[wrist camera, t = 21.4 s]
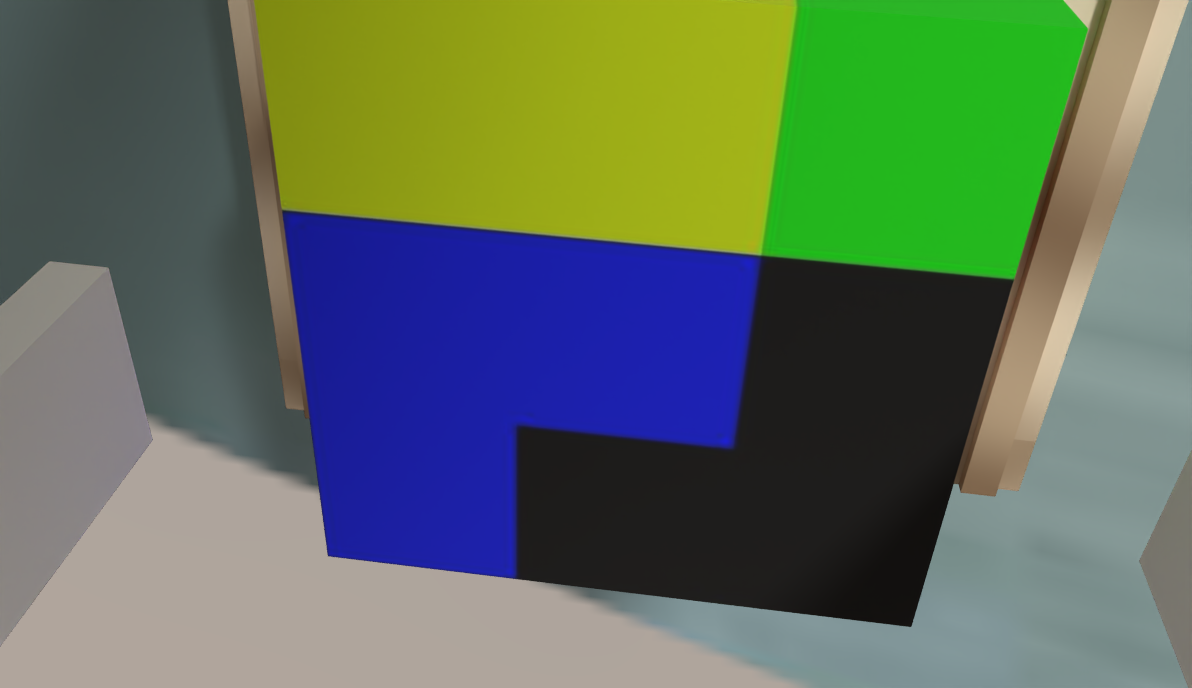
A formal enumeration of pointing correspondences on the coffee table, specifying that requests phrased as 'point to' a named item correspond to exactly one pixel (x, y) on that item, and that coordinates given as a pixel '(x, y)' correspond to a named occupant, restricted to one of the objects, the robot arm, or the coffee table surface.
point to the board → (1046, 268)
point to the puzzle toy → (657, 279)
